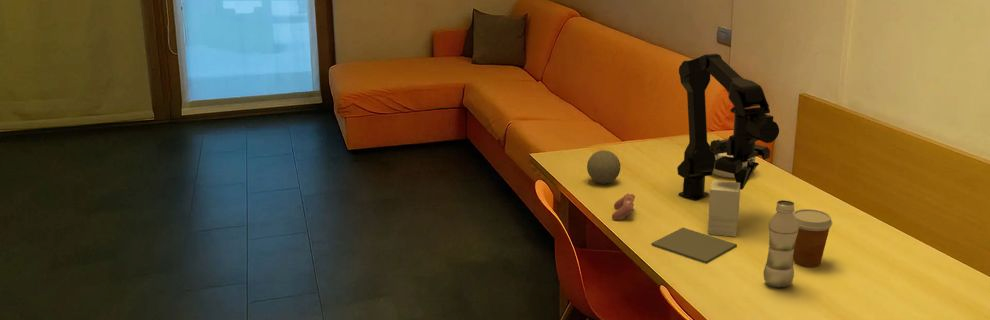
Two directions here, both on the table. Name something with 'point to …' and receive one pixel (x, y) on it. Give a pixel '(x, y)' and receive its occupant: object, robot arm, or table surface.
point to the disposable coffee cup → (811, 236)
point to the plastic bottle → (781, 245)
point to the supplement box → (724, 208)
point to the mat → (694, 245)
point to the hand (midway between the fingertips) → (740, 189)
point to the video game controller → (623, 207)
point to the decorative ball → (603, 166)
